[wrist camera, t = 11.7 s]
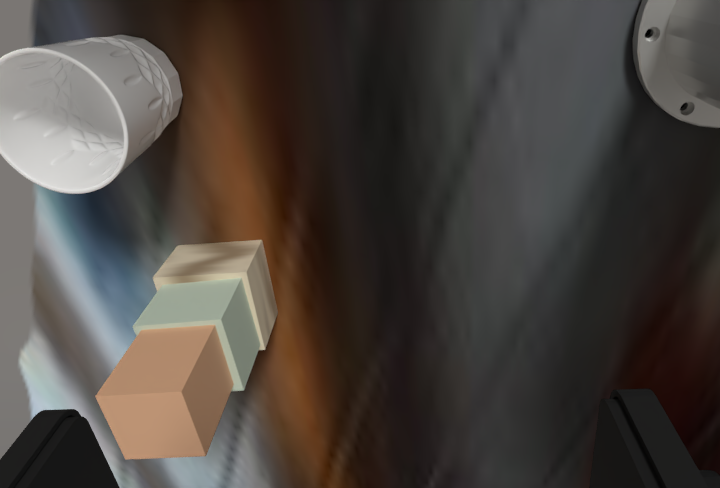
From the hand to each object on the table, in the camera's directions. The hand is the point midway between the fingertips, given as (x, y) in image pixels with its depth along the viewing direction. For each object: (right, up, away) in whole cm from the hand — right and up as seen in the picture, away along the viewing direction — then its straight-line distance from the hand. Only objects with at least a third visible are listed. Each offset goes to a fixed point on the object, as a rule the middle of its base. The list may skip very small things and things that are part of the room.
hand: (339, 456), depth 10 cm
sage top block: (-11, -1, +31) cm, 32 cm away
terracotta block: (-11, -4, +26) cm, 28 cm away
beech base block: (-10, +1, +35) cm, 36 cm away
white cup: (-15, +15, +28) cm, 35 cm away
